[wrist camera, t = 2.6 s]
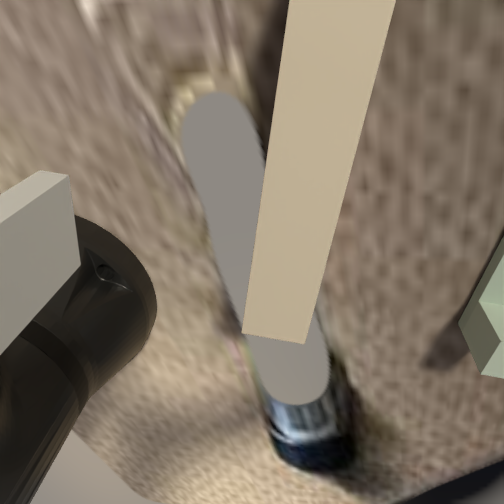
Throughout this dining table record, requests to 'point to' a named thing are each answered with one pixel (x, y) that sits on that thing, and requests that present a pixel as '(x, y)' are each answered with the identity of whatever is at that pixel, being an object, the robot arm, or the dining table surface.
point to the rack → (487, 318)
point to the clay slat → (310, 155)
